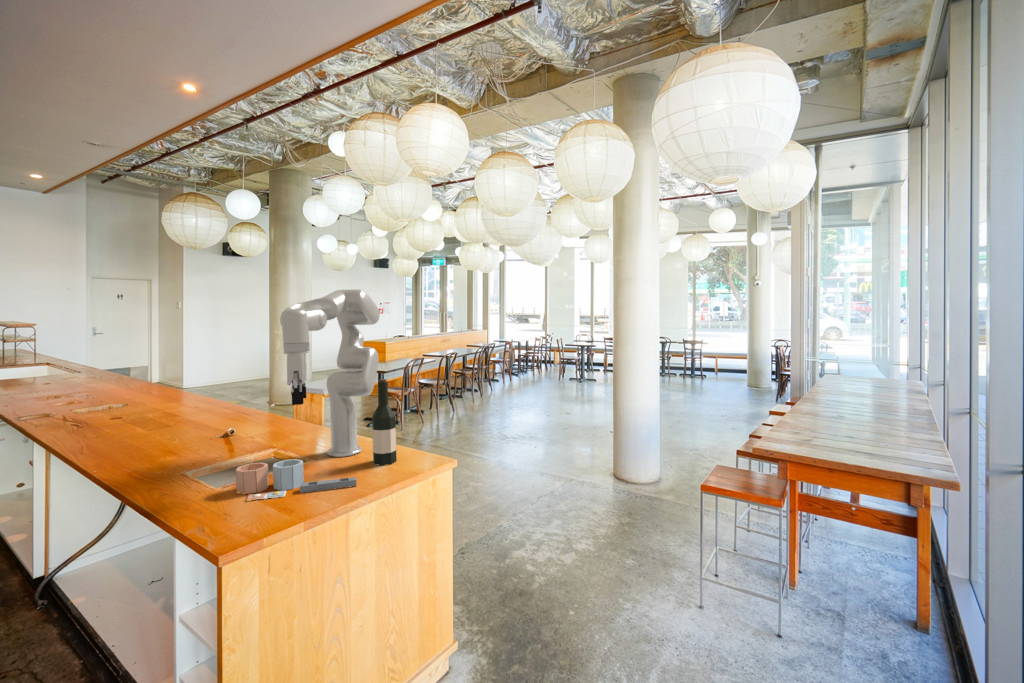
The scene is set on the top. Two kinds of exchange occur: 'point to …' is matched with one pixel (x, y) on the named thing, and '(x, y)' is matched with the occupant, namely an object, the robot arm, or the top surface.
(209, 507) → the top surface
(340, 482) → the holder
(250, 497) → the card
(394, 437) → the wine bottle
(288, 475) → the tube bluegrey
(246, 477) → the tube terracotta
